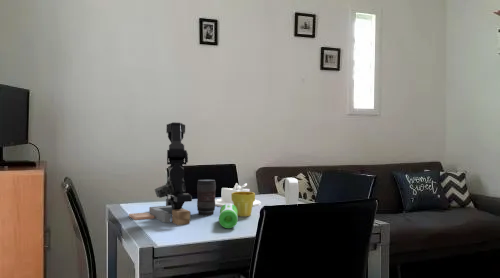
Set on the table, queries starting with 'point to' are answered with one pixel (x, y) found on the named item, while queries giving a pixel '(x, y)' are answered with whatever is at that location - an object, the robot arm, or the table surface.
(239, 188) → the dish
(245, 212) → the plant pot
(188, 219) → the walnut block
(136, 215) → the terracotta tile
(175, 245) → the table surface
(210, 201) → the camera lens
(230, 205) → the speaker
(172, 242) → the table surface
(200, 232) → the table surface
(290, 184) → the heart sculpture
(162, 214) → the pocket board
